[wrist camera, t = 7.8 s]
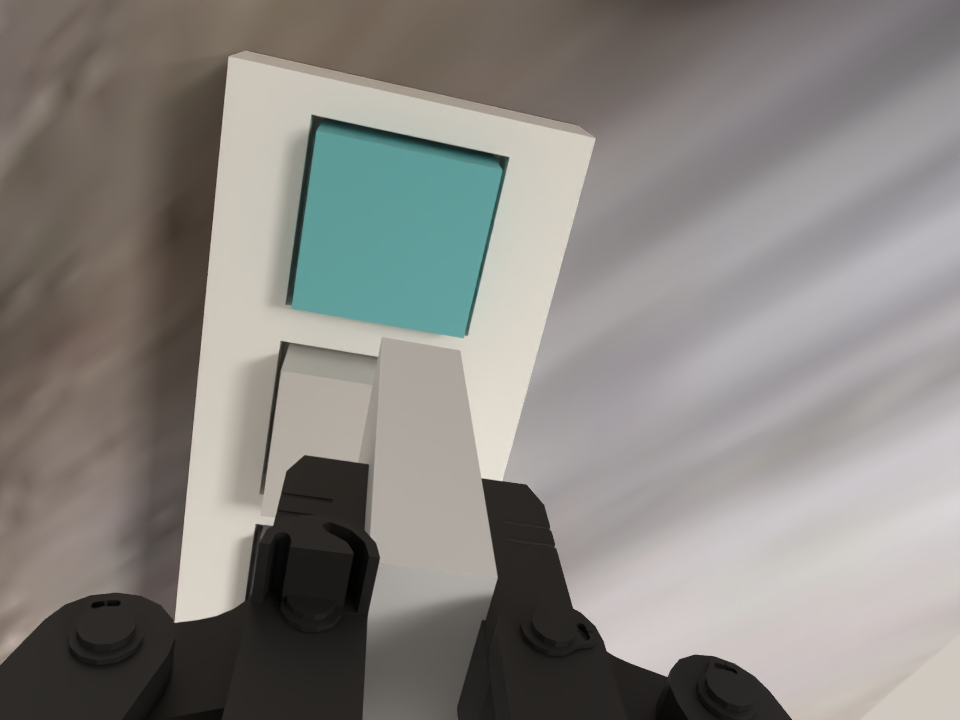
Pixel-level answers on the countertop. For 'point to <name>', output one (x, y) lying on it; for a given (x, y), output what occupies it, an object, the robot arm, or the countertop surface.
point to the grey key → (317, 411)
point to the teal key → (394, 228)
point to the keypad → (273, 324)
